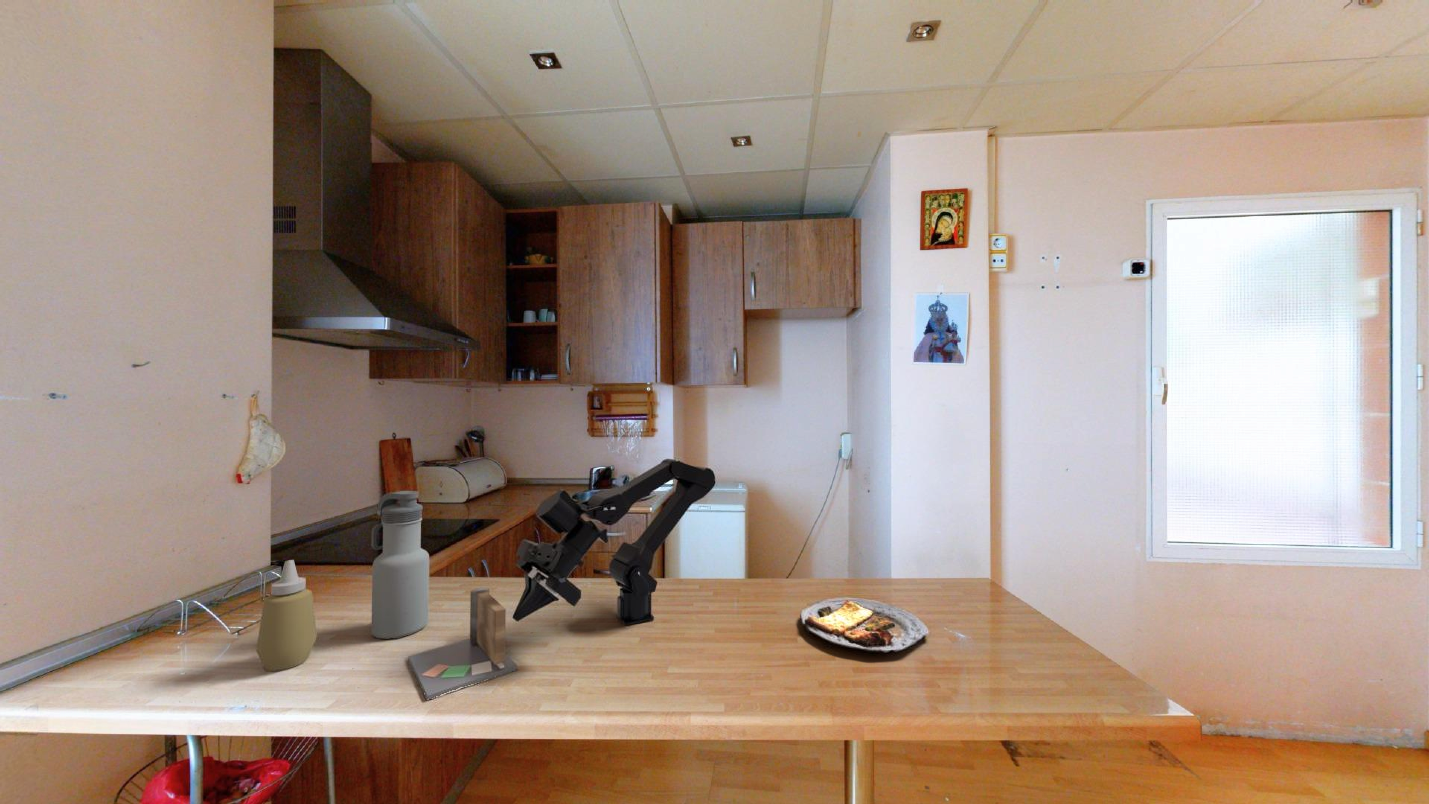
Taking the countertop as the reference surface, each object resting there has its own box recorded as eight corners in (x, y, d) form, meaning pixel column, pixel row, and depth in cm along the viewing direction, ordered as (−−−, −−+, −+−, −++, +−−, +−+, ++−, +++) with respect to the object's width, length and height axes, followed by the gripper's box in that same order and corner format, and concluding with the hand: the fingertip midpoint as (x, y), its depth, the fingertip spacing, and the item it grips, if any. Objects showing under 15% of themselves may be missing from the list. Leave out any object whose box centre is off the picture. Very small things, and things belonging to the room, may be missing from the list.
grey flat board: (408, 660, 86) (408, 655, 86) (488, 637, 95) (488, 632, 95) (427, 701, 74) (427, 695, 74) (517, 670, 83) (517, 664, 83)
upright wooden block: (467, 640, 91) (468, 590, 91) (485, 635, 93) (486, 586, 93) (492, 671, 80) (492, 614, 80) (511, 664, 82) (512, 609, 82)
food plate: (881, 674, 82) (881, 652, 82) (777, 629, 99) (777, 611, 99) (944, 633, 98) (944, 616, 98) (846, 601, 116) (846, 586, 116)
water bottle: (358, 634, 96) (361, 494, 96) (406, 615, 105) (408, 487, 105) (392, 644, 92) (395, 497, 92) (439, 623, 101) (441, 490, 101)
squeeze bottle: (247, 680, 79) (249, 571, 80) (265, 658, 86) (267, 557, 87) (309, 668, 83) (311, 564, 83) (321, 648, 90) (324, 552, 91)
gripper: (526, 515, 98) (467, 581, 91) (565, 532, 84) (499, 612, 77) (562, 546, 103) (509, 612, 96) (605, 568, 89) (546, 646, 82)
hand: (514, 619), depth 87 cm, fingers closed
